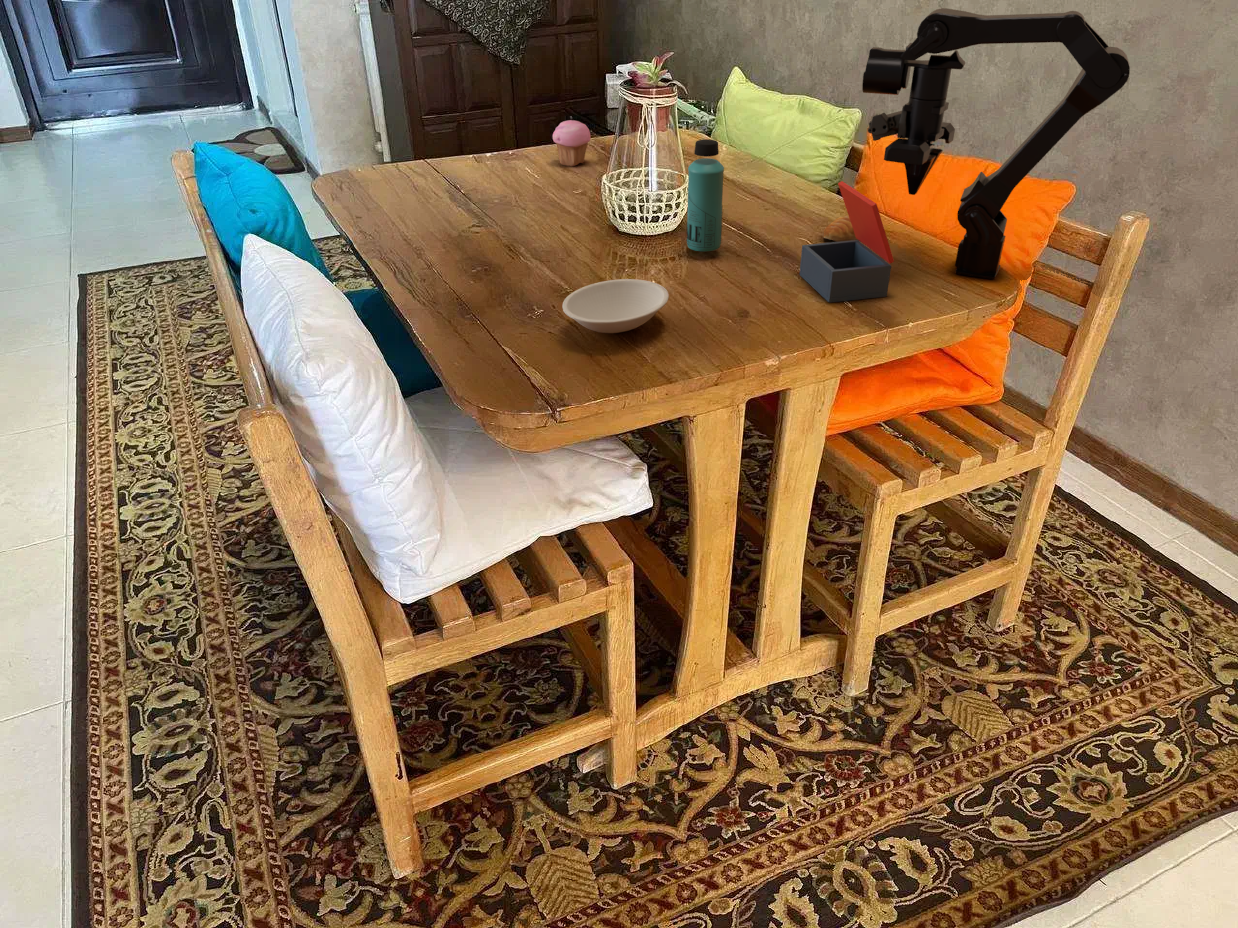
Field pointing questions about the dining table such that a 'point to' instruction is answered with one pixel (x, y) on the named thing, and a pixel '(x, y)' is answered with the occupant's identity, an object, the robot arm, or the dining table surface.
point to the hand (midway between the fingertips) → (912, 194)
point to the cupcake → (571, 142)
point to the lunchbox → (844, 271)
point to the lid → (866, 221)
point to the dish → (615, 304)
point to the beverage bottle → (705, 198)
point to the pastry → (840, 230)
